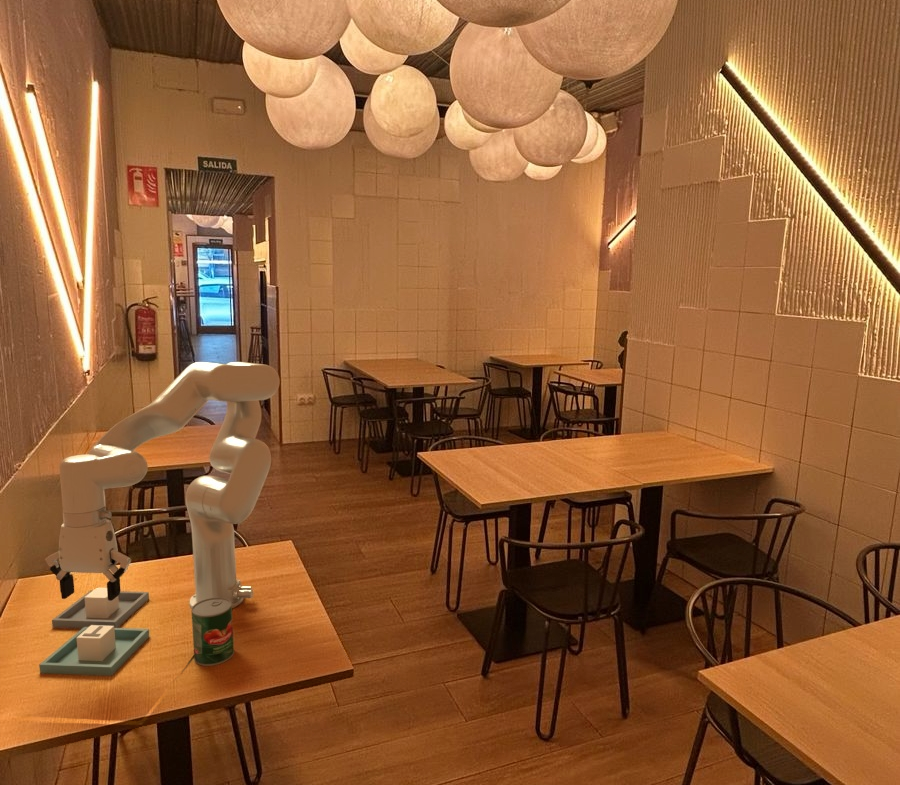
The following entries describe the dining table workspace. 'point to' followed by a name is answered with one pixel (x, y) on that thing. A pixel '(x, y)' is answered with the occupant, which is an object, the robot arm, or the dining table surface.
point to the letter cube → (96, 643)
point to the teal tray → (68, 661)
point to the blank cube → (100, 604)
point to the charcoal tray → (78, 620)
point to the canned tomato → (212, 631)
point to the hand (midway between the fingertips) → (91, 596)
